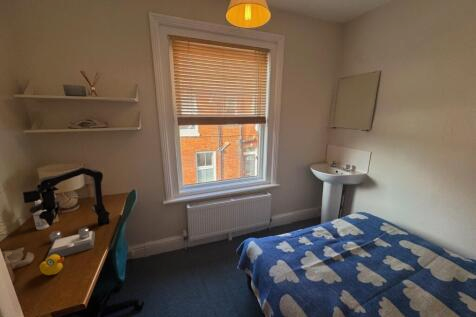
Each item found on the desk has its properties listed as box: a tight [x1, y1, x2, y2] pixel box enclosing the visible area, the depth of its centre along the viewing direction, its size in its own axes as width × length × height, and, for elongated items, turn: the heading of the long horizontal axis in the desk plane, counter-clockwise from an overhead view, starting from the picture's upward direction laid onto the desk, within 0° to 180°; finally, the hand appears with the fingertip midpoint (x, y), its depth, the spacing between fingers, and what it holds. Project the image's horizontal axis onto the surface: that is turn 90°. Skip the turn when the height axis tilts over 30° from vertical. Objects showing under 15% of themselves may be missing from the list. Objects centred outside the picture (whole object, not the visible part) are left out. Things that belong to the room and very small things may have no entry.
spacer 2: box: [77, 227, 90, 240], centre depth 122 cm, size 5×5×5 cm
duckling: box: [39, 254, 65, 276], centre depth 97 cm, size 11×5×10 cm, turn 93°
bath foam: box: [32, 199, 50, 231], centre depth 136 cm, size 7×7×20 cm
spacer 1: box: [49, 230, 63, 244], centre depth 123 cm, size 5×5×5 cm
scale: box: [46, 230, 96, 258], centre depth 118 cm, size 20×16×5 cm
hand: (52, 222), depth 121 cm, fingers open, 9 cm apart
